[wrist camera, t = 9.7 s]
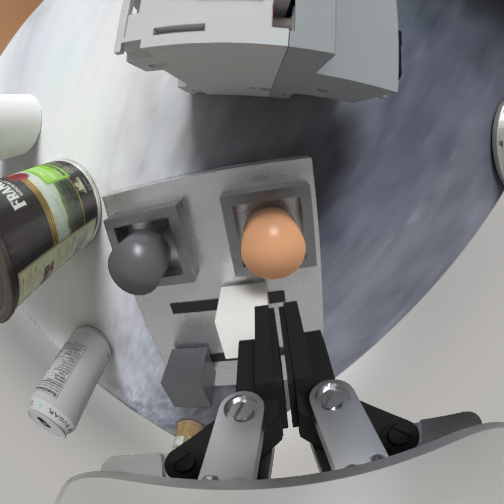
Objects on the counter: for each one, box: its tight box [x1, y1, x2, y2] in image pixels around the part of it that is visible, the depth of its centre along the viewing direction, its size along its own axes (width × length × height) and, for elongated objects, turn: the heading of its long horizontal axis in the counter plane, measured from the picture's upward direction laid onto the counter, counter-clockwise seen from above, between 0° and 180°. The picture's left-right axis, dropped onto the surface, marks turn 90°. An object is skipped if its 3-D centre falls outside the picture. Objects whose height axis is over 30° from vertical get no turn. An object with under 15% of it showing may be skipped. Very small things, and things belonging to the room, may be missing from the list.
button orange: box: [241, 207, 306, 279], centre depth 20 cm, size 4×4×3 cm
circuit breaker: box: [114, 0, 402, 103], centre depth 13 cm, size 8×14×15 cm, turn 86°
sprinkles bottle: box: [173, 420, 203, 450], centre depth 34 cm, size 5×5×13 cm
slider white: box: [215, 282, 270, 359], centre depth 24 cm, size 4×4×5 cm
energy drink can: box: [28, 327, 111, 439], centre depth 26 cm, size 6×6×15 cm
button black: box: [108, 229, 171, 295], centre depth 20 cm, size 4×4×3 cm
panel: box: [102, 155, 323, 386], centre depth 27 cm, size 18×24×4 cm
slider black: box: [161, 347, 216, 407], centre depth 27 cm, size 4×4×5 cm
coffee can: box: [0, 159, 101, 323], centre depth 19 cm, size 10×10×14 cm
